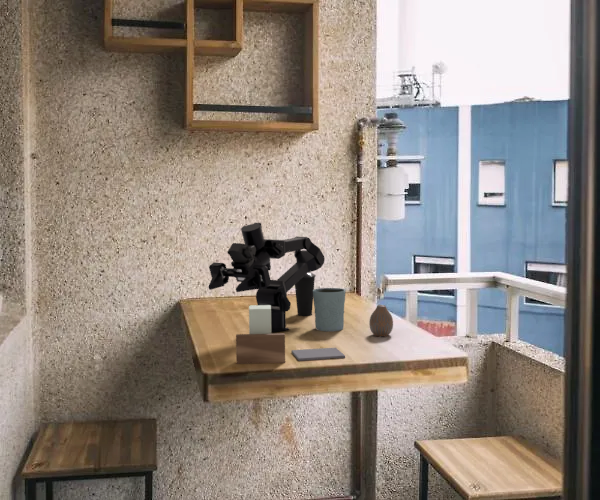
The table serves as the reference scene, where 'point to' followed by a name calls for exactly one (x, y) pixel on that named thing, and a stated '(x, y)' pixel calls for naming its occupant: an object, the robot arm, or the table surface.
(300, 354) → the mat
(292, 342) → the table surface
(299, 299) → the drinking cup
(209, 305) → the table surface
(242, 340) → the walnut screen
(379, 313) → the vase
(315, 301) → the blue-grey pot
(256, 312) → the pale green block
